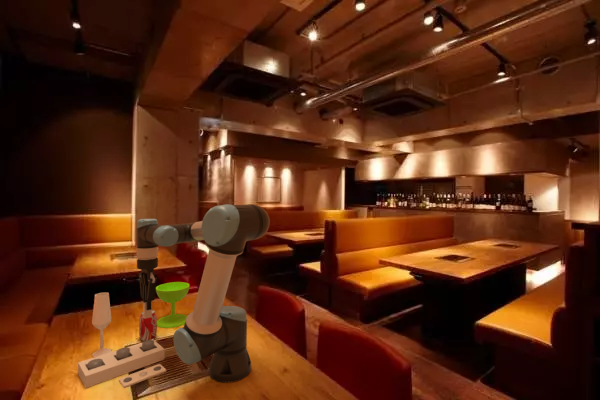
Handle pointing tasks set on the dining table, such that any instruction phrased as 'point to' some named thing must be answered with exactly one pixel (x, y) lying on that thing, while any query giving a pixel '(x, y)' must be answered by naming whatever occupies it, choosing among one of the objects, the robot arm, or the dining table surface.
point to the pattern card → (142, 375)
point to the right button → (147, 345)
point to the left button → (95, 363)
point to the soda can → (148, 327)
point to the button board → (119, 364)
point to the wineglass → (172, 303)
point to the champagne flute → (101, 319)
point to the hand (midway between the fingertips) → (147, 317)
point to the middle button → (122, 353)
